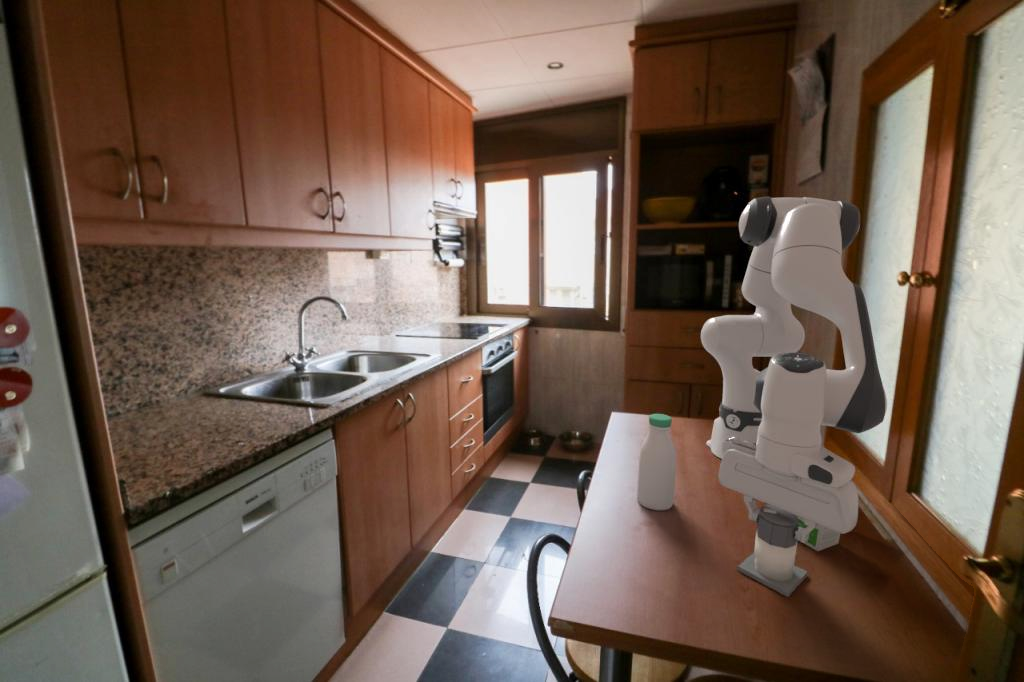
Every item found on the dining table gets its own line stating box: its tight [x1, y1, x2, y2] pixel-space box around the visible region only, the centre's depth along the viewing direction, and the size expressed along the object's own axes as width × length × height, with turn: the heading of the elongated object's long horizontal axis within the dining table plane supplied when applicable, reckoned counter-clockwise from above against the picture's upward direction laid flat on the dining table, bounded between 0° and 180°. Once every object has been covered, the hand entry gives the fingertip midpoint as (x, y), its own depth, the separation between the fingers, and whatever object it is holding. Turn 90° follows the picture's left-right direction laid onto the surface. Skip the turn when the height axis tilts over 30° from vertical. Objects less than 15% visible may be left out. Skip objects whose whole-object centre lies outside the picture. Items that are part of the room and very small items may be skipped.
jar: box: [737, 530, 808, 598], centre depth 76 cm, size 8×8×10 cm
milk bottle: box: [636, 413, 677, 511], centre depth 98 cm, size 8×8×20 cm
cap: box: [756, 504, 799, 548], centre depth 75 cm, size 6×6×5 cm
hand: (777, 529), depth 76 cm, fingers closed on cap, 6 cm apart
